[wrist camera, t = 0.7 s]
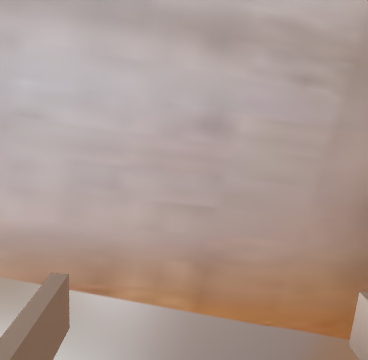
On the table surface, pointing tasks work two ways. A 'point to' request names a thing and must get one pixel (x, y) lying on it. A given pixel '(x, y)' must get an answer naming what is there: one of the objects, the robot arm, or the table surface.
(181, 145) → the table surface
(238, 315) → the table surface
